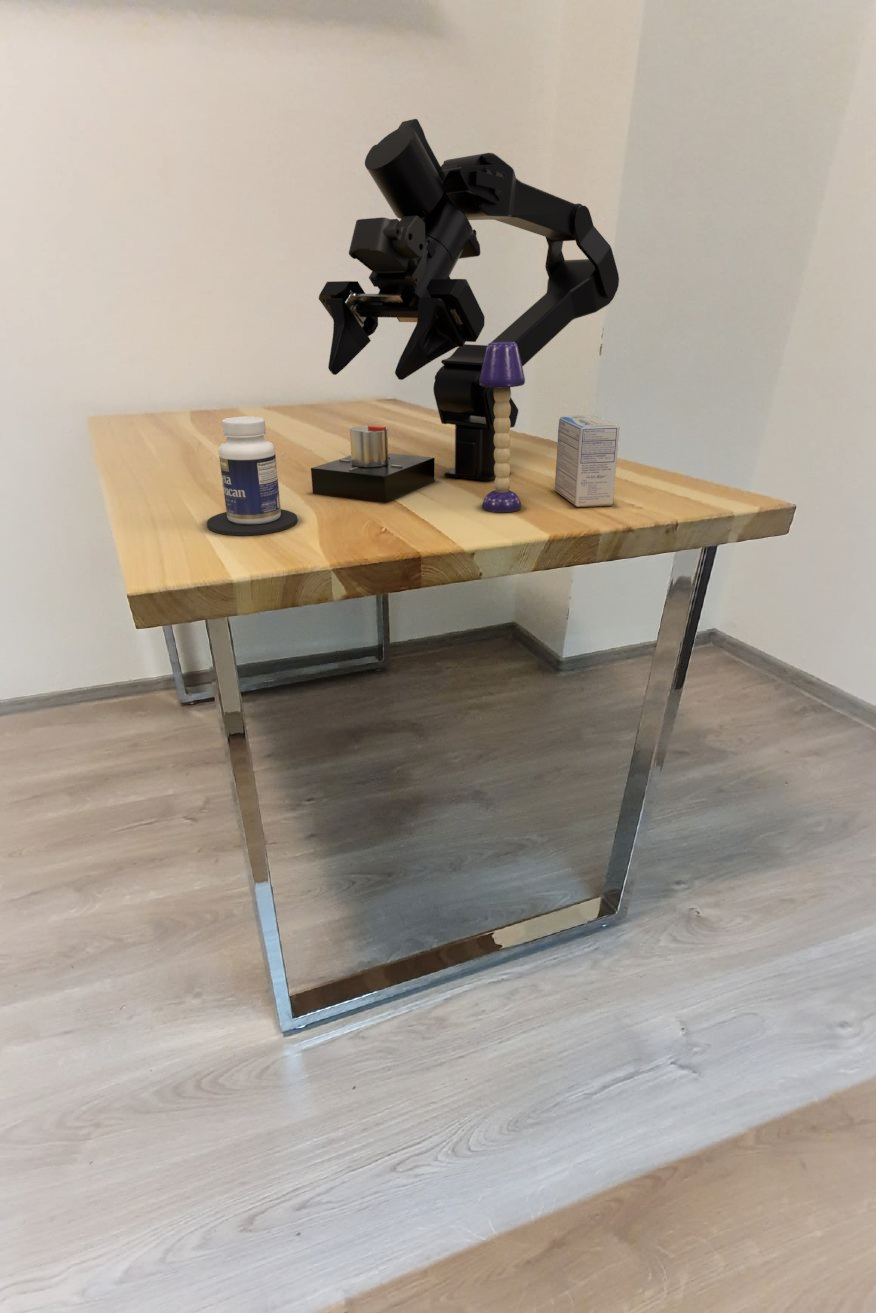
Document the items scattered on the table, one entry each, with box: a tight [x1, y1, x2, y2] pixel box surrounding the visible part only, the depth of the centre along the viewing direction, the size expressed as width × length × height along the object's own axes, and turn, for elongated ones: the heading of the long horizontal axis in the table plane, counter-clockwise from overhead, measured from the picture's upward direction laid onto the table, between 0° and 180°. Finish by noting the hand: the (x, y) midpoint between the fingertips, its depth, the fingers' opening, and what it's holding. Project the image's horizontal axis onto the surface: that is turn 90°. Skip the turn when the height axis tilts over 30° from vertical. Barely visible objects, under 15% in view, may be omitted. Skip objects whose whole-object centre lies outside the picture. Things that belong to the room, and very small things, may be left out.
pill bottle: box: [218, 416, 282, 525], centre depth 72 cm, size 5×5×10 cm
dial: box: [349, 425, 389, 467], centre depth 85 cm, size 4×4×4 cm
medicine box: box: [554, 414, 620, 508], centre depth 81 cm, size 8×4×9 cm, turn 9°
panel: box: [310, 452, 436, 504], centre depth 87 cm, size 12×10×3 cm
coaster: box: [206, 508, 298, 537], centre depth 74 cm, size 9×9×1 cm
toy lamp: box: [479, 341, 526, 513], centre depth 76 cm, size 5×5×17 cm
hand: (363, 374), depth 75 cm, fingers open, 9 cm apart
